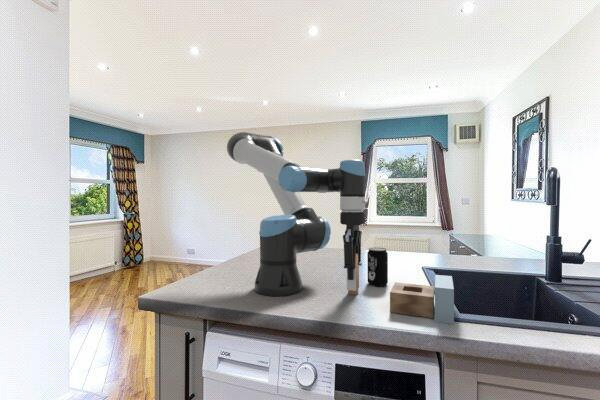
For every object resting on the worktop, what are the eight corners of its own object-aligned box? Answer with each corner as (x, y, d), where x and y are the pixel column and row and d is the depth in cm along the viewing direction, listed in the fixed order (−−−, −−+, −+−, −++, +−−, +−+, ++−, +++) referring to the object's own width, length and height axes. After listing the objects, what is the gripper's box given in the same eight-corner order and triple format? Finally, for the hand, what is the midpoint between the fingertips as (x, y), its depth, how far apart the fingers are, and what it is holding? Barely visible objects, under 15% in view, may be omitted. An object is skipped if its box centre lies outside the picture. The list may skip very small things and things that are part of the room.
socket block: (390, 311, 78) (389, 292, 78) (395, 300, 87) (395, 282, 87) (433, 318, 74) (433, 297, 74) (434, 304, 83) (433, 286, 83)
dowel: (346, 294, 93) (346, 254, 93) (349, 291, 96) (349, 252, 96) (356, 295, 92) (356, 255, 92) (359, 292, 95) (358, 253, 95)
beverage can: (388, 287, 100) (388, 250, 100) (367, 286, 101) (367, 250, 101) (387, 282, 107) (386, 247, 106) (367, 281, 108) (367, 246, 108)
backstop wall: (434, 321, 72) (434, 287, 72) (435, 304, 84) (435, 274, 84) (454, 324, 71) (453, 289, 71) (452, 306, 83) (451, 276, 83)
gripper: (358, 212, 85) (359, 297, 85) (370, 210, 100) (370, 283, 100) (332, 212, 88) (333, 294, 89) (347, 210, 103) (348, 280, 103)
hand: (353, 288), depth 94 cm, fingers closed on dowel, 3 cm apart
